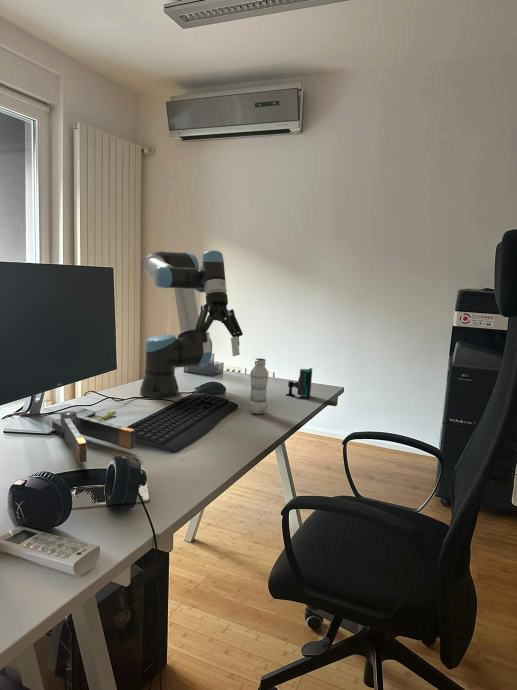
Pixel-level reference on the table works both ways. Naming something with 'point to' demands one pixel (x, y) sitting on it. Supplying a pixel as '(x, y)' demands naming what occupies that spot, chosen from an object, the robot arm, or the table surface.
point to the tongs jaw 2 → (106, 432)
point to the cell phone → (100, 495)
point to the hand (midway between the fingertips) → (222, 354)
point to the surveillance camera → (302, 383)
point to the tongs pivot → (59, 424)
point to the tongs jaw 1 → (75, 440)
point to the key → (106, 416)
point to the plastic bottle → (258, 387)
